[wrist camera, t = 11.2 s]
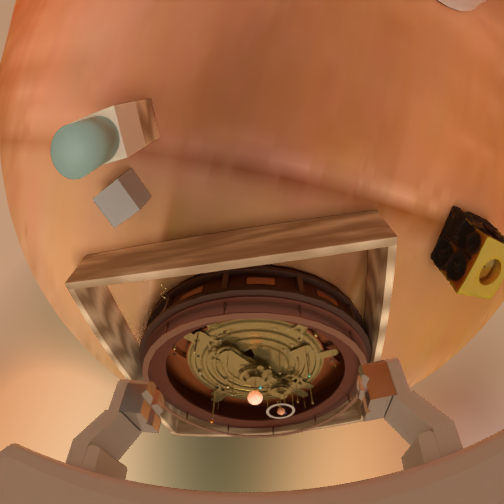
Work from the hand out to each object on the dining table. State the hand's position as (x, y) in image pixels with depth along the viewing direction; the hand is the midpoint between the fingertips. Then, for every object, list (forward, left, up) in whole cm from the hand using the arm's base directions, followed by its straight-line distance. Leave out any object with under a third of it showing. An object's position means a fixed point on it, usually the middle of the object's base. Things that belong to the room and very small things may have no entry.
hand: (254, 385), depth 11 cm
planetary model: (+35, -7, -32) cm, 48 cm away
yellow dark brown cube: (+16, +33, -32) cm, 48 cm away
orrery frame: (+33, -7, -32) cm, 46 cm away
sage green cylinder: (-9, -14, -21) cm, 27 cm away
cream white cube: (-9, -14, -26) cm, 31 cm away
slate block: (0, -18, -32) cm, 37 cm away
